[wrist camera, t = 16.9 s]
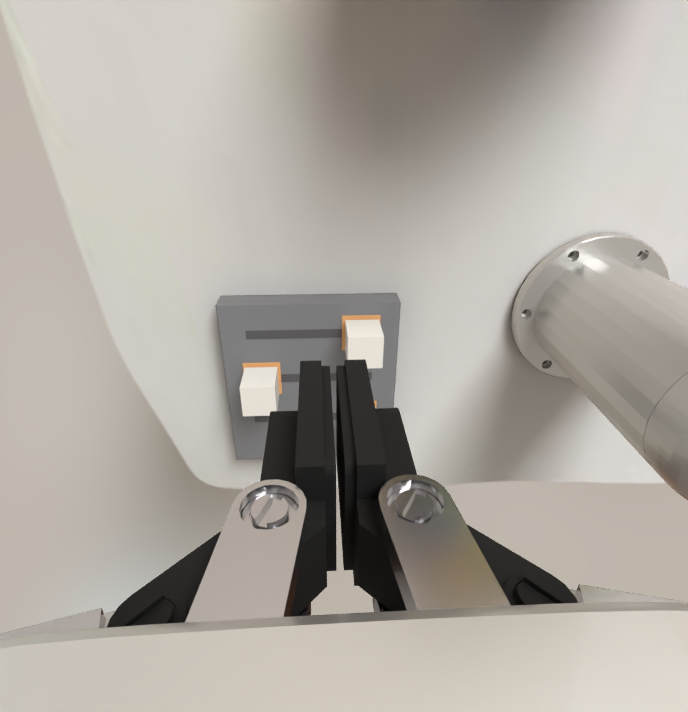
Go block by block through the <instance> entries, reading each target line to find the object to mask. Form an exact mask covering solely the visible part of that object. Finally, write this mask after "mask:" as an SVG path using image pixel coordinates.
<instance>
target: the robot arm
mask: <svg viewBox="0 0 688 712" xmlns="http://www.w3.org/2000/svg"><path fill="white" fill-rule="evenodd" d="M570 252H571V253H570ZM569 253H570V254H569ZM522 311H523V312H522ZM512 332H513V337H514V340H515V342H516V345H517V347H518V349H519V350H520V352H521V353H522V354H523V356H524V357H525V358H526V359H527V360H528V361H529V362H530V363H531V364H532V365H533V366H534V367H535V368H537V369H538V370H540V371H541V372H544V373H546V374H549V375H552V376H555V377H562V378H570V379H571V380H572V381H573V382H574V383H575V384H576V385H577V387H578V388H579V389H580V390H581V391H582V392H583V393H584V394H585V395H586V396H587V397H588V398H589V400H590V401H591V402H592V403H593V404H594V405H595V406H596V407H597V408H598V409H599V410H600V411H601V413H602V414H603V415H604V416H605V417H606V418H607V419H608V420H609V421H610V422H611V423H612V424H613V426H614V427H615V428H616V429H617V430H618V431H619V432H620V433H621V434H622V435H623V436H624V437H625V439H626V440H627V441H628V442H629V443H630V444H631V445H632V446H633V447H634V448H635V449H636V450H637V451H638V453H639V454H640V455H641V456H642V457H643V458H644V459H645V460H646V461H647V462H648V463H649V464H650V466H651V467H652V468H653V469H654V470H655V471H656V472H657V473H658V474H659V475H660V477H661V478H662V479H663V480H664V481H665V482H666V483H667V484H668V485H669V486H671V488H673V489H674V490H675V491H676V492H677V493H678V494H680V495H681V496H683V497H684V498H685V499H687V500H688V289H686V288H684V287H682V286H680V285H678V284H676V283H674V282H672V281H670V279H669V275H668V270H667V267H666V265H665V263H664V262H663V260H662V258H661V256H660V255H659V254H658V253H657V252H656V251H655V250H654V249H653V248H652V247H650V246H649V245H647V244H646V243H644V242H642V241H640V240H638V239H635V238H633V237H631V236H627V235H622V234H618V233H598V234H593V235H588V236H584V237H581V238H578V239H576V240H573V241H570V242H568V243H566V244H565V245H563V246H561V247H559V248H558V249H556V250H554V251H553V252H552V253H551V254H549V255H548V256H547V257H546V258H544V259H543V260H542V261H541V262H540V263H539V264H538V265H537V266H536V267H535V268H534V269H533V270H532V272H531V273H530V274H529V275H528V277H527V278H526V280H525V281H524V283H523V285H522V286H521V288H520V290H519V293H518V295H517V297H516V299H515V303H514V307H513V311H512ZM336 452H337V471H338V487H339V502H340V518H341V533H342V549H343V564H344V570H353V574H354V585H355V586H360V587H361V588H362V589H363V590H365V591H366V592H367V593H368V594H370V595H371V596H372V597H373V608H374V612H370V613H350V614H332V615H312V616H311V601H312V600H313V599H315V597H317V596H318V595H319V593H321V592H322V590H324V589H325V588H326V587H327V571H336V460H335V443H334V427H333V410H332V394H331V378H330V366H321V360H318V361H300V378H299V397H298V411H271V412H270V416H269V423H268V430H267V437H266V444H265V451H264V458H263V465H262V473H261V480H260V482H256V483H254V484H252V485H250V486H248V487H246V488H245V489H244V490H243V491H242V492H240V493H239V494H238V495H237V497H236V498H235V500H234V502H233V504H232V506H231V509H230V511H229V514H228V516H227V519H226V521H225V524H224V526H223V529H222V531H221V532H219V533H218V534H216V535H215V536H214V537H212V538H211V539H209V540H208V541H207V542H205V543H204V544H202V545H201V546H200V547H198V548H197V549H195V550H194V551H193V552H191V553H190V554H188V555H187V556H186V557H184V558H183V559H181V560H180V561H179V562H177V563H176V564H174V565H173V566H172V567H170V568H169V569H167V570H166V571H165V572H163V573H162V574H161V575H159V576H158V577H156V578H155V579H153V580H152V581H151V582H149V583H148V584H147V585H145V586H144V587H142V588H141V589H140V590H138V591H137V592H135V593H134V594H133V595H131V596H130V597H129V598H128V599H127V600H125V601H124V602H123V603H122V604H121V605H120V606H119V607H118V608H117V610H116V611H113V612H109V613H106V614H104V613H103V610H102V608H99V609H96V610H92V611H88V612H84V613H80V614H76V615H72V616H68V617H64V618H60V619H57V620H53V621H49V622H45V623H41V624H37V625H33V626H29V627H25V628H21V629H17V630H13V631H9V632H5V633H2V634H0V712H688V602H684V601H679V600H672V599H666V598H660V597H654V596H648V595H641V594H635V593H629V592H623V591H617V590H611V589H605V588H598V587H592V586H586V585H580V584H579V585H578V588H577V590H572V589H568V588H567V586H566V585H565V584H564V583H562V582H561V581H560V580H558V579H557V578H555V577H554V576H552V575H551V574H549V573H548V572H546V571H544V570H543V569H541V568H539V567H538V566H536V565H534V564H532V563H531V562H529V561H527V560H526V559H524V558H522V557H521V556H519V555H517V554H516V553H514V552H512V551H511V550H509V549H507V548H505V547H504V546H502V545H500V544H499V543H497V542H495V541H494V540H492V539H490V538H489V537H487V536H485V535H484V534H482V533H480V532H478V531H477V530H475V529H473V528H472V527H470V526H468V525H466V523H465V521H464V520H463V518H462V516H461V514H460V512H459V510H458V509H457V507H456V505H455V503H454V501H453V500H452V498H451V496H450V494H449V493H448V492H447V490H446V489H445V488H444V487H443V486H442V485H440V484H439V483H438V482H436V481H435V480H432V479H430V478H428V477H425V476H420V475H417V473H416V470H415V466H414V462H413V459H412V455H411V451H410V448H409V444H408V441H407V437H406V433H405V430H404V426H403V423H402V419H401V415H400V412H399V409H398V408H375V404H374V399H373V394H372V389H371V384H370V379H369V374H368V369H367V364H366V360H365V359H362V360H344V365H339V366H336Z"/></svg>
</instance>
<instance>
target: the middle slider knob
mask: <svg viewBox="0 0 688 712" xmlns="http://www.w3.org/2000/svg"><path fill="white" fill-rule="evenodd" d="M240 397H241V405H242V413H243V416H270V412H271V411H277V410H278V401H279V382H278V368H277V367H252V368H244V372H243V376H242V380H241V384H240Z"/></svg>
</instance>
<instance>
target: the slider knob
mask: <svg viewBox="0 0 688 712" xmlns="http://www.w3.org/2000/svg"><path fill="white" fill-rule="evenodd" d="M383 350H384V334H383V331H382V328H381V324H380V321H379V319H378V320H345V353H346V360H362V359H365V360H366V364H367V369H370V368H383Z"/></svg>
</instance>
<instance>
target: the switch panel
mask: <svg viewBox="0 0 688 712" xmlns="http://www.w3.org/2000/svg"><path fill="white" fill-rule="evenodd" d="M400 305H401V302H400V300H399V298H398V295H397V293H380V294H313V295H247V296H220V298H219V300H218V302H217V304H216V310H217V318H218V325H219V332H220V340H221V347H222V355H223V362H224V369H225V377H226V384H227V392H228V399H229V406H230V414H231V421H232V429H233V436H234V444H235V451H236V458H237V460H240V459H263V458H264V451H265V444H266V437H267V430H268V423H269V416H243V413H242V405H241V397H240V384H241V380H242V376H243V372H244V368H252V367H277V368H278V382H279V401H278V410H277V411H298V397H299V378H300V361H318V360H321V366H330V378H331V394H332V410H333V427H334V443H335V456H337V452H336V366H339V365H344V360H346V353H345V320H378V319H379V321H380V324H381V328H382V331H383V334H384V350H383V368H370V369H368V374H369V379H370V384H371V389H372V394H373V399H374V404H375V407H376V408H393V407H394V392H395V377H396V363H397V348H398V334H399V319H400Z"/></svg>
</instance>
